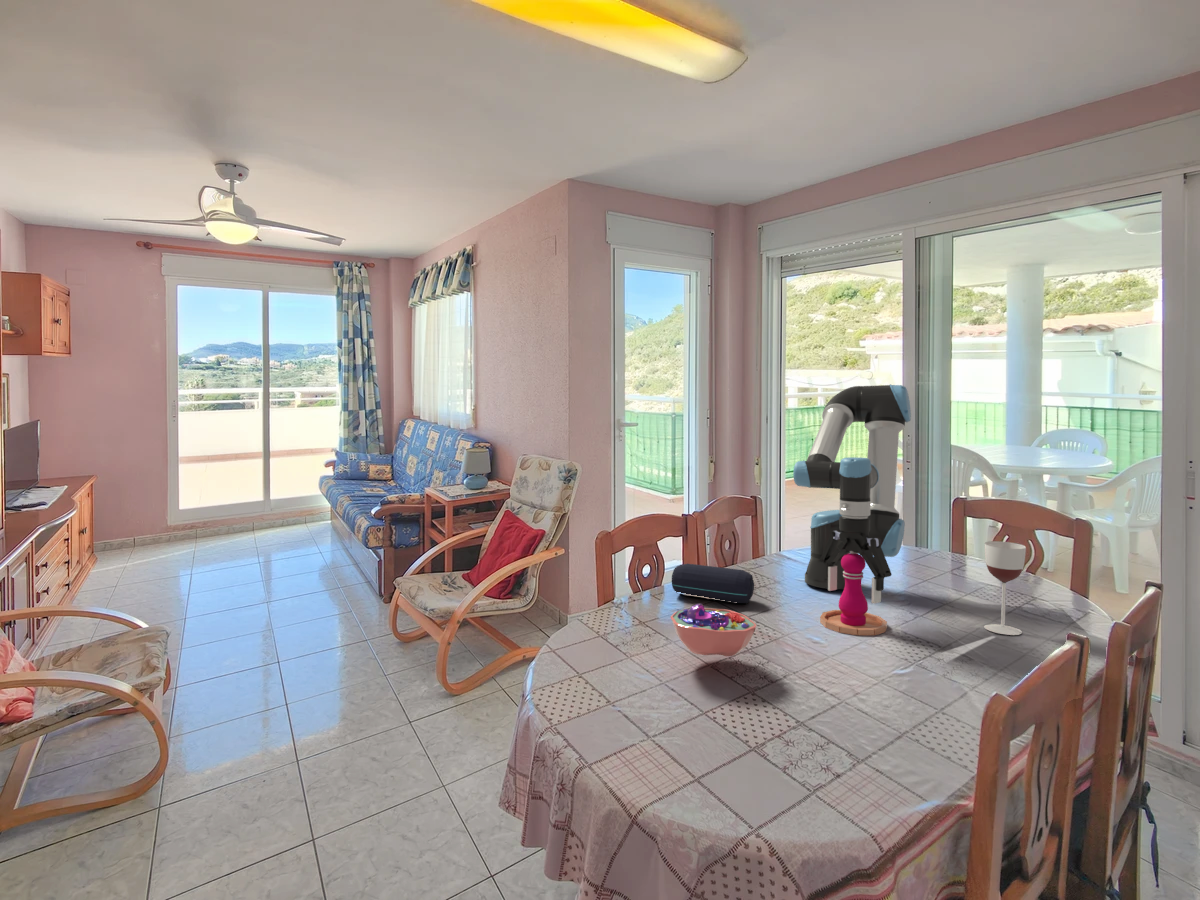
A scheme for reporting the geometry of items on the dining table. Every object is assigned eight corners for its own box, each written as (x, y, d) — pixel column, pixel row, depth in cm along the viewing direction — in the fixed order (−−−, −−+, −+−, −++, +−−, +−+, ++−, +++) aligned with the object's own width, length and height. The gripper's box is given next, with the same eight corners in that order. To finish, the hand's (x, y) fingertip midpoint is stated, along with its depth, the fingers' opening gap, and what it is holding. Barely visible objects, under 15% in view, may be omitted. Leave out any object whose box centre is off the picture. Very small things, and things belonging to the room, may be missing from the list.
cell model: (741, 675, 132) (741, 623, 131) (657, 656, 143) (657, 608, 142) (765, 650, 146) (765, 603, 146) (687, 635, 157) (688, 591, 156)
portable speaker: (758, 601, 186) (758, 568, 185) (748, 610, 177) (748, 575, 177) (681, 590, 199) (681, 559, 198) (668, 597, 190) (668, 565, 189)
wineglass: (1016, 625, 163) (1019, 542, 161) (1028, 637, 153) (1031, 549, 152) (978, 621, 165) (980, 540, 164) (988, 633, 156) (990, 547, 155)
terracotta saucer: (808, 621, 167) (808, 615, 167) (847, 611, 175) (847, 606, 174) (859, 639, 153) (859, 633, 153) (899, 628, 161) (899, 622, 161)
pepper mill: (870, 627, 159) (870, 550, 159) (841, 626, 161) (841, 550, 160) (864, 618, 167) (864, 545, 166) (836, 617, 168) (836, 544, 167)
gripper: (807, 511, 171) (806, 587, 172) (888, 524, 150) (886, 610, 151) (825, 509, 175) (824, 583, 176) (907, 521, 153) (906, 606, 154)
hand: (853, 596), depth 163 cm, fingers open, 13 cm apart
